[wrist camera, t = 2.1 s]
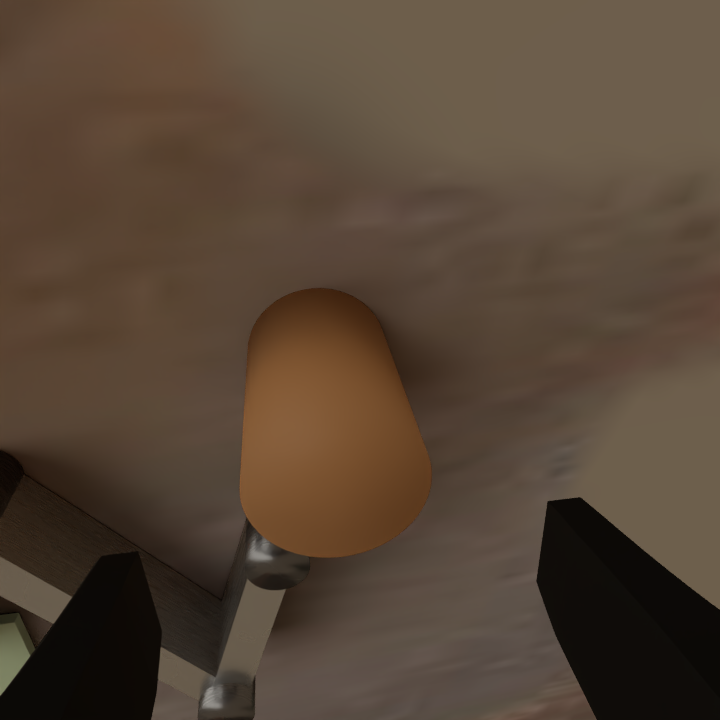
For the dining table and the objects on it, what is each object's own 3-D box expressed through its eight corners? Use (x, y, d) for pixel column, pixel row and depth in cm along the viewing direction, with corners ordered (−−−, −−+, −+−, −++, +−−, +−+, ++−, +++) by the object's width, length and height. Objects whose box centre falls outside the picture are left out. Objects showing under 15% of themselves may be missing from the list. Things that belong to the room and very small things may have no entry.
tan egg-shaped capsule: (238, 294, 17) (225, 418, 12) (383, 282, 17) (433, 396, 12) (256, 416, 19) (252, 568, 14) (386, 402, 19) (430, 545, 14)
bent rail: (-154, 463, 18) (-241, 555, 15) (296, 415, 19) (301, 491, 16) (-35, 676, 23) (-81, 779, 20) (319, 627, 24) (327, 716, 21)
